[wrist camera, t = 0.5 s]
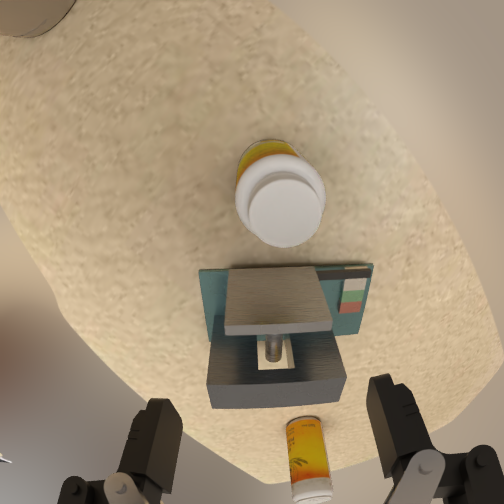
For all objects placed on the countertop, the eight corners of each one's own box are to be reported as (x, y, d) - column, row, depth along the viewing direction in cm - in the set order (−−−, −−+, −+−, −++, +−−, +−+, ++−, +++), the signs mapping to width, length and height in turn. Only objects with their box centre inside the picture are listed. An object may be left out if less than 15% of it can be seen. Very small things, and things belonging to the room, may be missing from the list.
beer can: (282, 418, 43) (290, 501, 30) (319, 411, 43) (334, 493, 29) (288, 433, 46) (295, 507, 33) (322, 427, 45) (334, 500, 32)
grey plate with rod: (228, 269, 28) (224, 325, 21) (368, 263, 28) (398, 314, 21) (234, 331, 32) (232, 388, 25) (355, 324, 32) (375, 376, 25)
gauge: (199, 269, 29) (183, 340, 21) (372, 263, 29) (411, 325, 21) (209, 339, 34) (201, 408, 25) (357, 331, 34) (380, 394, 25)
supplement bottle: (224, 176, 25) (211, 223, 16) (265, 124, 23) (278, 140, 14) (275, 213, 27) (290, 277, 18) (317, 166, 25) (357, 208, 16)
